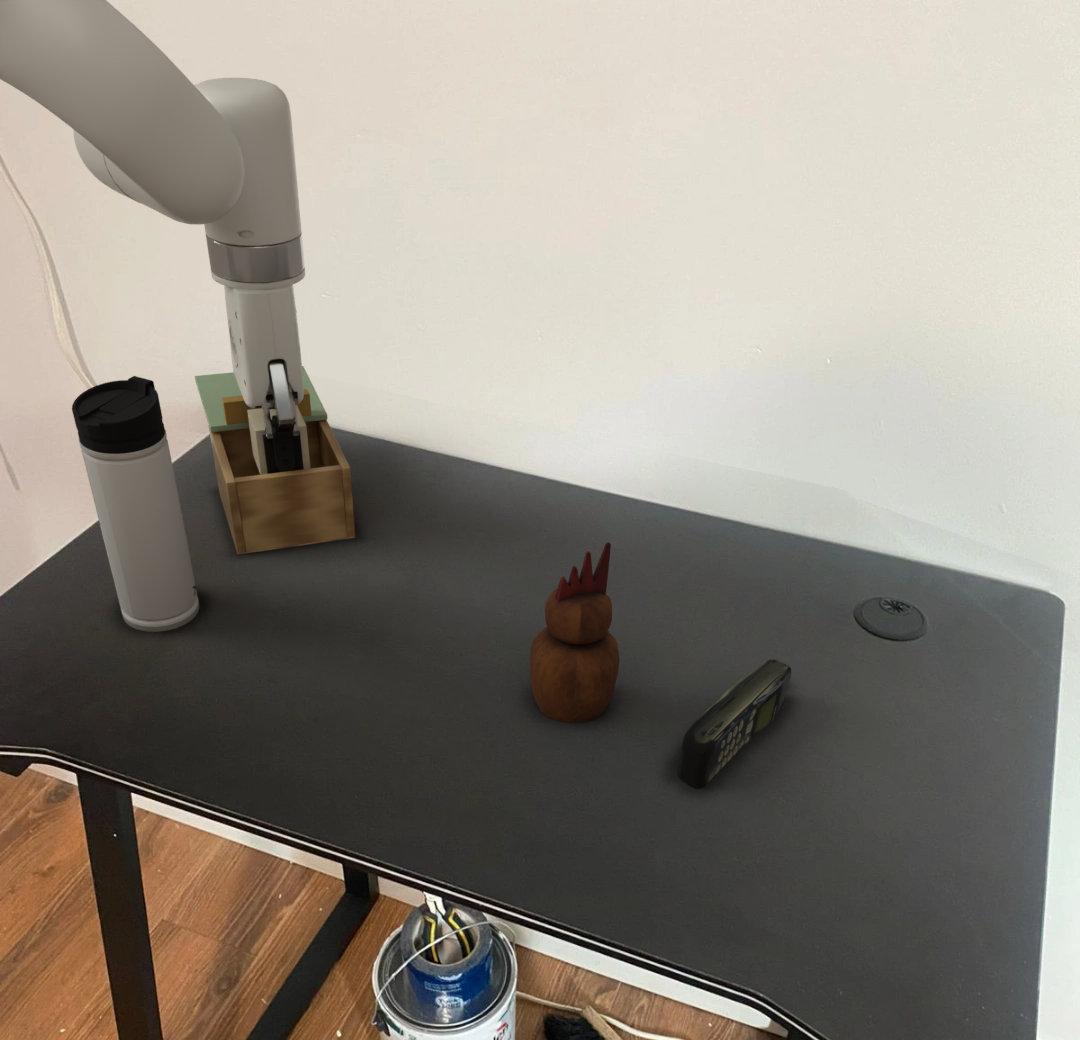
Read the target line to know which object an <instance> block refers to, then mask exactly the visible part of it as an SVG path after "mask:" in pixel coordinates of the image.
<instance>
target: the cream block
mask: <svg viewBox="0 0 1080 1040" xmlns="http://www.w3.org/2000/svg"><path fill="white" fill-rule="evenodd" d="M295 409H296V416H297V423H298V431H299V432H300V438H301V448H302V458H303V467H304V469H310V459H309V449H308V438H307V428H306V424H305V422H304V420H303V418H302V415H301V413H300V411H299V409H298V407H297V405H295ZM269 410H270V416H271V419H272V416H273V415H276V409H269ZM247 413H248V420H249V428H250V435H251V442H252V450H253V456H254V459H255V461H256V464H257V467H258V470H259V473H260V475H262V474H268V473H267V466H266V458H265V450H264V443H263V435H264V434H266V432H265V425H264V419H263V412H262V408H261V409H251V410H247Z"/></svg>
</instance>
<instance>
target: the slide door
mask: <svg viewBox="0 0 1080 1040" xmlns="http://www.w3.org/2000/svg"><path fill="white" fill-rule="evenodd" d="M302 374H303V392H304V397H303V400H302V401H301V402H300V403H299V404H297V403H296V402H295V405H297V407H298V409H299V411H300V413H301V415H302V418H303V420H304V422H310V421H319V420H327V421H328V413H327V411H326V409H325V407H324V405H323V402H322V401H321V399H320V397H319V395H318V393H317V391H316V389H315V386H314V385H313V383H312V381H311V378H310V377H309V375H308V373H307V371H306V369H305V367H304V365H302ZM194 379H195V380H194V382H195V384H196V388H197V392H198V395H199V397H200V401H201V404H202V408H203V410H204V413H205V418H206V420H207V423H208V428H209V427H210V430H211V432H219V431H228V430H237V429H246V428H249V420H248V413H247V410H251V409H252V408H250V407H249V406H247V404H246V403H245V401H244V399H243V396H242V394H241V391H240V388H239V386H238V383H237V380H236V377H235V374H234V371H233V372H222V373H212V374H203V375H202V374H201V375H195V376H194ZM255 409H261V408H255Z"/></svg>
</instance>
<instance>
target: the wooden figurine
mask: <svg viewBox="0 0 1080 1040" xmlns="http://www.w3.org/2000/svg"><path fill="white" fill-rule="evenodd" d="M611 547H612V544H611V542H608V541H607V542H606V543H605V544H604V547H603V549H602V552H601V554H600V557H599V559H598V562H597V564H596V567H595V569H594V572H593V562H592V554H591V552H590V551H586V552H585V555H584V557H583V562H582V567H581V570H580V574H579V569H578V567H577V566H576V565H573V566H572V567H571V570H570V574H569V578H568V581H567V579H566V577H565V576H561V577H560V579H559V583H558V586H557V588H555V589H554V590H553V591H552V592H550V594H549V595H548V597H547V599H546V600H545V606H544V619H545V620H544V621H545V625H546V626H544V627H543V628H542V629H541V630H540V631H539V632H538V633H537V634H536V636H535V637H534V638H533V639H532V643H531V646H530V648H529V649H530V650H529V680H530V685H531V691H532V694H533V698H534V701H535V703H536V704H537V707H538V708H539V710H540V712H541V714H543V715H544V716H546V718H548V719H550V720H553V721H557V722H559V723H568V724H579V723H586V722H590V721H594V720H595V719H596V718H598V717H599V716H601V715H602V713H603V712H604V711H605V710H606V708H607V706H608V705H609V703H610V702H611V699H612V696H613V693H614V690H615V687H616V684H617V679H618V675H619V668H620V652H619V643H618V641H617V640H616V638H615V637H614V636H613V635H612V633H611V632H610V631H609V629H610V627H611V624H612V621H613V603H612V599H611V597H610V596H609V595H607V587H608V582H609V581H608V578H609V569H610V559H611Z"/></svg>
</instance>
